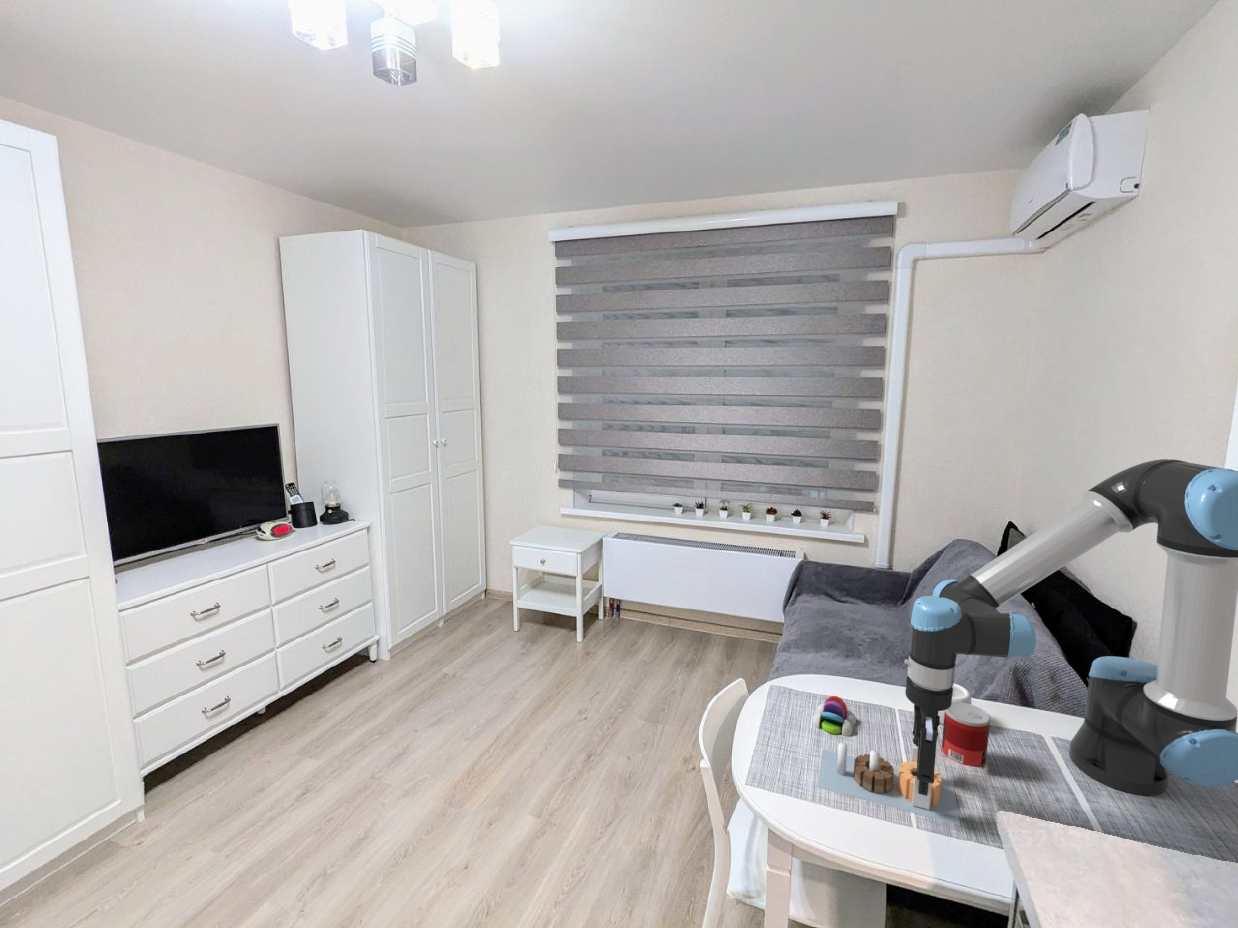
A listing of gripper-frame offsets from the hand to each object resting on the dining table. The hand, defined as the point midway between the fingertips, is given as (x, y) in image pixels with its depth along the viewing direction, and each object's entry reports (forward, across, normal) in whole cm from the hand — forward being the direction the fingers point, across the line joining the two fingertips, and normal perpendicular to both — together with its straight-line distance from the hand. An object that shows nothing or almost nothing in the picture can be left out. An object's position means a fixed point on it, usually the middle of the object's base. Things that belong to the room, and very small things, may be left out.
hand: (919, 791), depth 108 cm
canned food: (+2, -16, +9) cm, 19 cm away
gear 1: (0, 0, -8) cm, 8 cm away
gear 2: (0, 0, 0) cm, 0 cm away
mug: (+2, -32, +7) cm, 33 cm away
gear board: (+2, 0, -6) cm, 6 cm away
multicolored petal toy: (+2, -17, -16) cm, 24 cm away
